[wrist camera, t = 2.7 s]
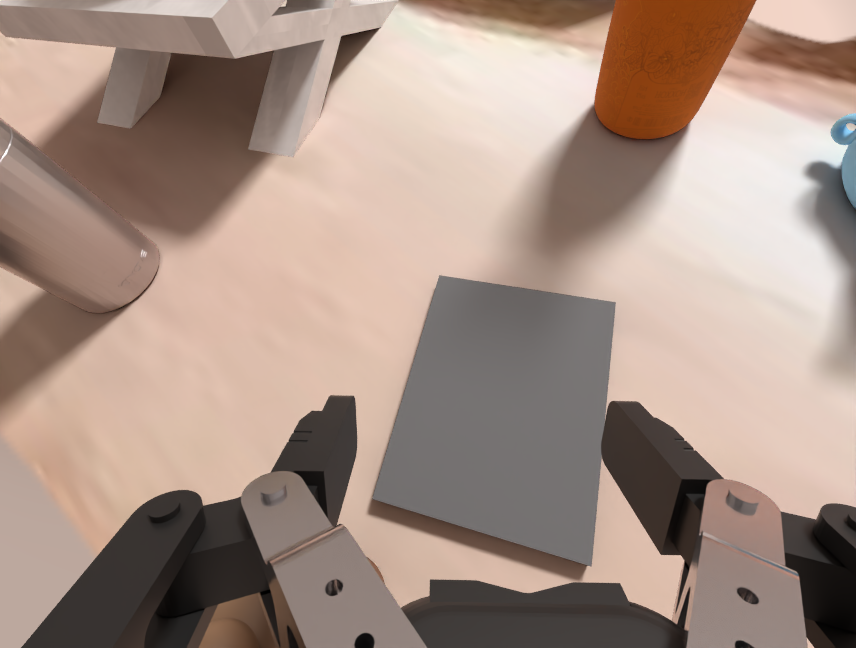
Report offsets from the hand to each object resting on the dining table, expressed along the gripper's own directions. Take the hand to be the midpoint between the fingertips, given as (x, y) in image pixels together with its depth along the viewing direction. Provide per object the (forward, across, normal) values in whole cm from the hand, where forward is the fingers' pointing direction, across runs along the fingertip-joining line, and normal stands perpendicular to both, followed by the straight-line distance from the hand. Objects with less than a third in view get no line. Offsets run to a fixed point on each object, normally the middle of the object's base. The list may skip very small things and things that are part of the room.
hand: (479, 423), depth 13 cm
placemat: (+15, -4, +8) cm, 17 cm away
